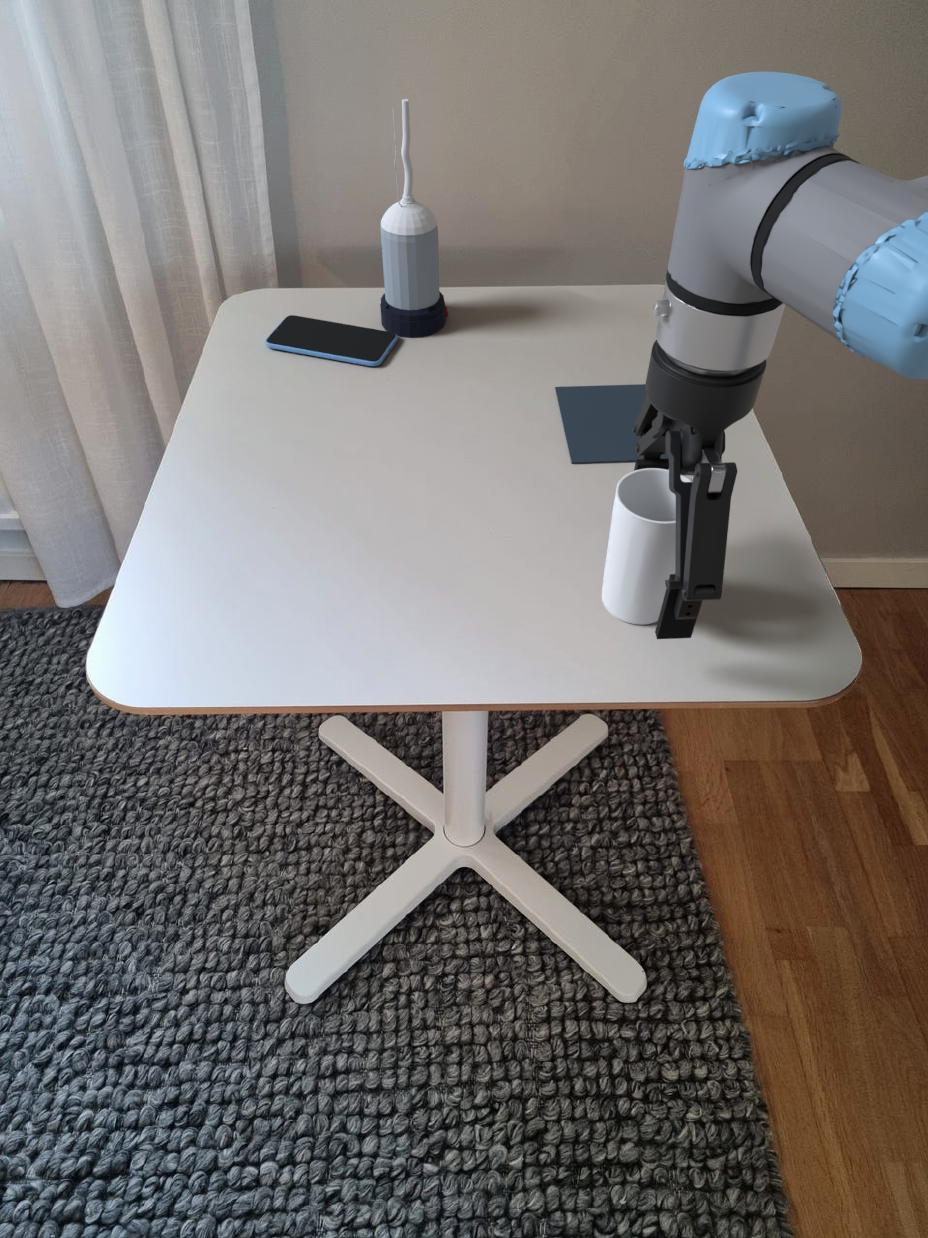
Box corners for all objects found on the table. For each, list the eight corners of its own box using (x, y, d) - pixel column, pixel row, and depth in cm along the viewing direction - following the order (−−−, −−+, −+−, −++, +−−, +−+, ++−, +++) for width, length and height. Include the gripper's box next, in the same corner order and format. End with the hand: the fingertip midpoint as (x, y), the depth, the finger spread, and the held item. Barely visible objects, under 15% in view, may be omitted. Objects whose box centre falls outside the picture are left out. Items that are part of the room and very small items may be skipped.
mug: (582, 593, 78) (598, 488, 69) (637, 562, 80) (659, 457, 71) (662, 663, 72) (690, 559, 63) (718, 628, 75) (753, 523, 66)
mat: (704, 459, 91) (705, 458, 91) (571, 463, 90) (571, 462, 90) (675, 384, 100) (676, 383, 100) (555, 388, 100) (555, 386, 100)
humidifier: (459, 318, 110) (458, 98, 92) (416, 344, 106) (406, 119, 87) (411, 298, 114) (401, 82, 95) (367, 323, 109) (348, 102, 91)
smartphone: (378, 362, 102) (261, 342, 105) (378, 369, 102) (262, 348, 105) (400, 331, 106) (287, 312, 109) (400, 337, 107) (288, 318, 110)
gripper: (621, 259, 66) (589, 480, 81) (698, 468, 49) (639, 694, 65) (719, 257, 66) (668, 478, 82) (829, 464, 49) (738, 690, 65)
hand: (655, 574), depth 73 cm, fingers open, 13 cm apart
